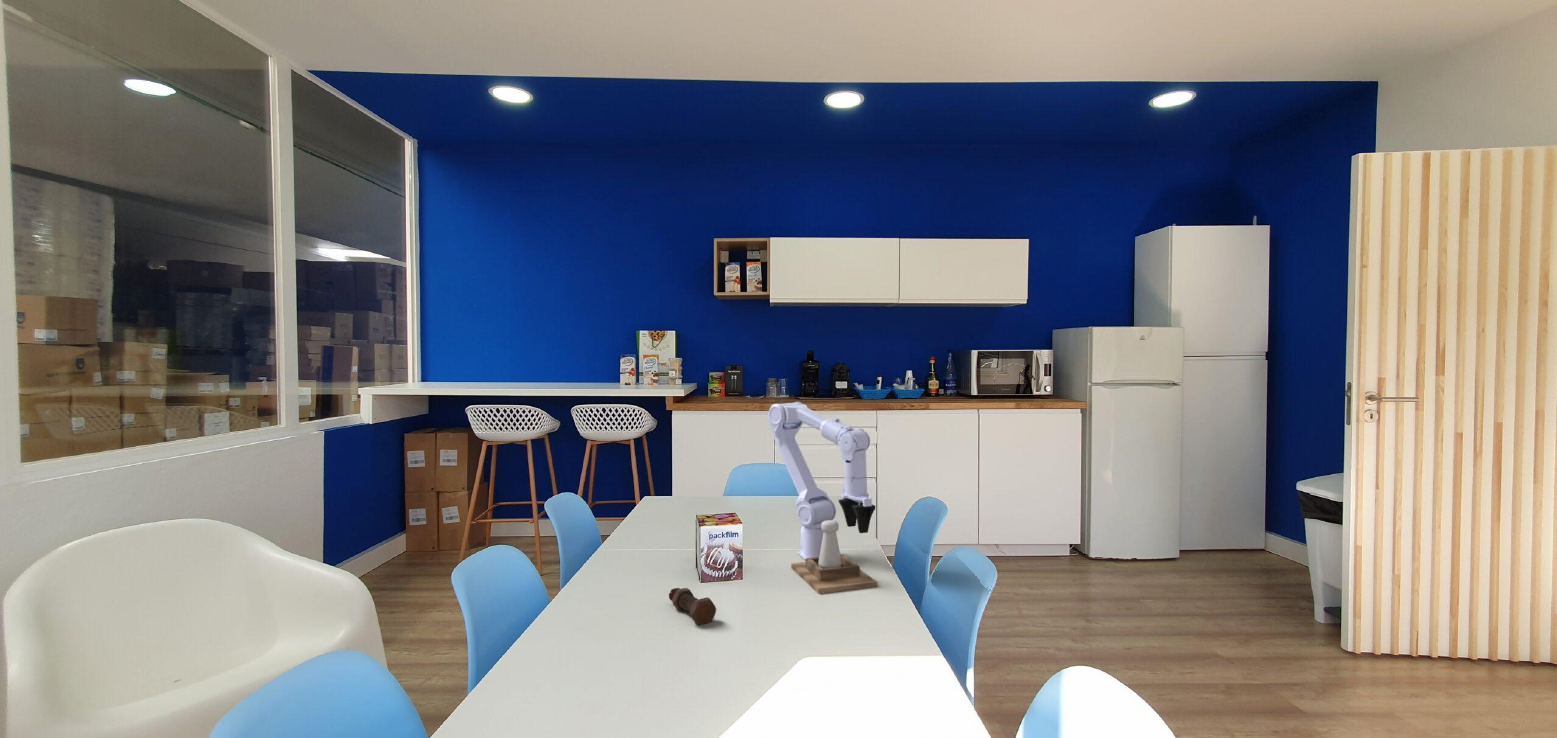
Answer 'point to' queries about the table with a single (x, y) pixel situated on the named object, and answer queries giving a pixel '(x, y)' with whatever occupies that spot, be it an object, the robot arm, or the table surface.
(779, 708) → the table surface
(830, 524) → the salt shaker
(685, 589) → the bolt
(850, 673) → the table surface
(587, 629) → the table surface
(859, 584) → the socket board
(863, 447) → the robot arm
